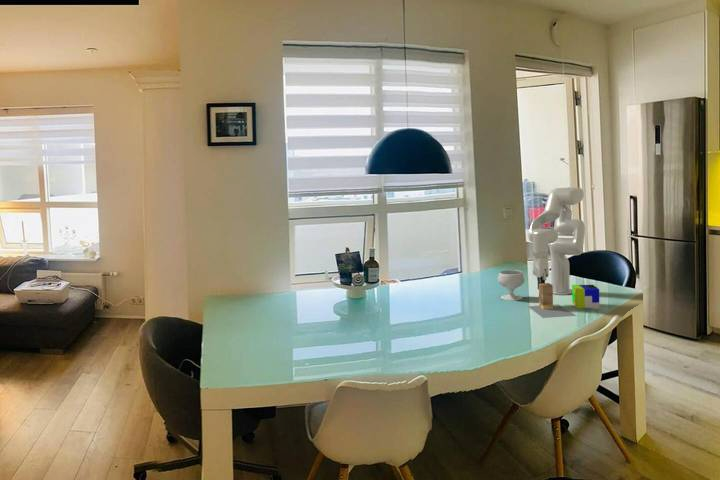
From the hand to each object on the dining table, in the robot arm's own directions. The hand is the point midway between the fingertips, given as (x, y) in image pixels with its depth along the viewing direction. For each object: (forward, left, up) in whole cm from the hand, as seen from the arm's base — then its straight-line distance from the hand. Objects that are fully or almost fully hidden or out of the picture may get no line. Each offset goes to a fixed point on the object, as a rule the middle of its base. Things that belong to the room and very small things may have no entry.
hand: (541, 289), depth 231 cm
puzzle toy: (+5, +20, -9) cm, 23 cm away
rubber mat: (+11, 0, -9) cm, 14 cm away
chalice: (-18, -10, -9) cm, 22 cm away
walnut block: (+5, 0, -8) cm, 10 cm away
